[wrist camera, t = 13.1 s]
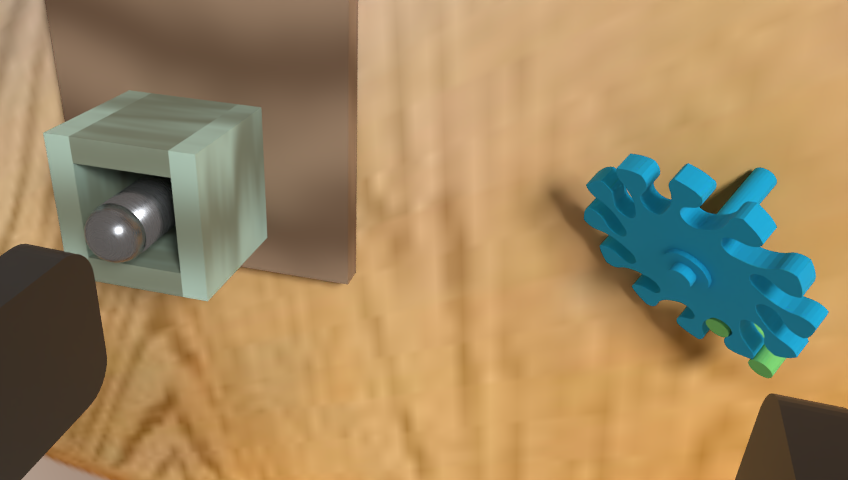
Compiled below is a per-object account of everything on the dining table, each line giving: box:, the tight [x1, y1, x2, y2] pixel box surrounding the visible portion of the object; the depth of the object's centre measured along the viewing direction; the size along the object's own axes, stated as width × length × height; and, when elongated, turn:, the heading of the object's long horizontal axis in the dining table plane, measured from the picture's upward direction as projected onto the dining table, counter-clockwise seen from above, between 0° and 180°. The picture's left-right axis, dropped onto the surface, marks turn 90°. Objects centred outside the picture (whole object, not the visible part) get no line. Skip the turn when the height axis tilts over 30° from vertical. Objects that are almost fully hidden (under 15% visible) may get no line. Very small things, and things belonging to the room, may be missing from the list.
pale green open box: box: [43, 90, 267, 301], centre depth 35 cm, size 6×6×6 cm
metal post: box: [84, 174, 176, 263], centre depth 34 cm, size 2×2×8 cm
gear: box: [584, 154, 828, 378], centre depth 32 cm, size 11×6×10 cm
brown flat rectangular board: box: [45, 0, 358, 284], centre depth 35 cm, size 22×14×1 cm, turn 177°
